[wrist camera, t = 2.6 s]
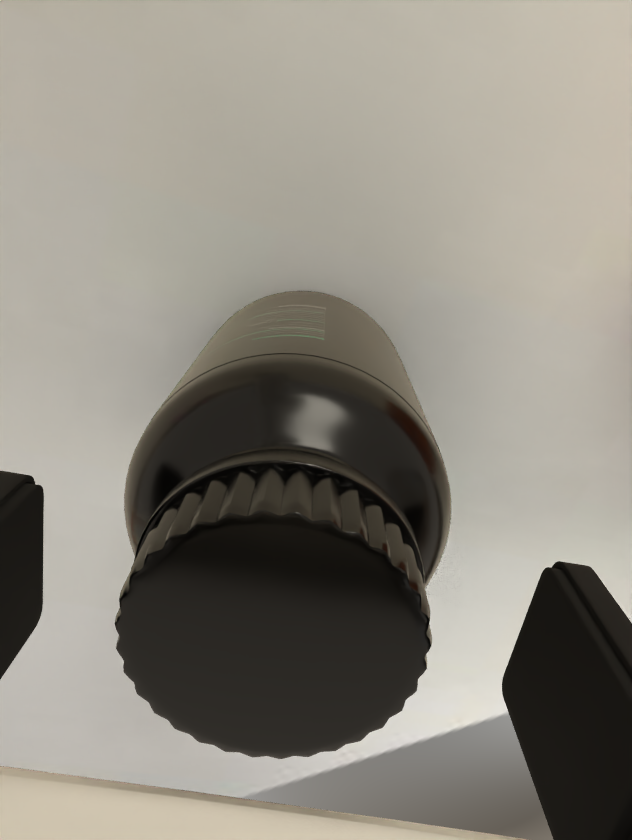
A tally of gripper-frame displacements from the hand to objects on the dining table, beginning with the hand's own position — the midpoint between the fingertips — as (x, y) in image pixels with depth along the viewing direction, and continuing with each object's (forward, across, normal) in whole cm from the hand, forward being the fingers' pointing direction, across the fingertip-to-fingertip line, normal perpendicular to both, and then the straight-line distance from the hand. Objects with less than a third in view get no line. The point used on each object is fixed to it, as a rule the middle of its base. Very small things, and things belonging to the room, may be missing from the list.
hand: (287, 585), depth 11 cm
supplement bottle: (+10, 0, -1) cm, 10 cm away
